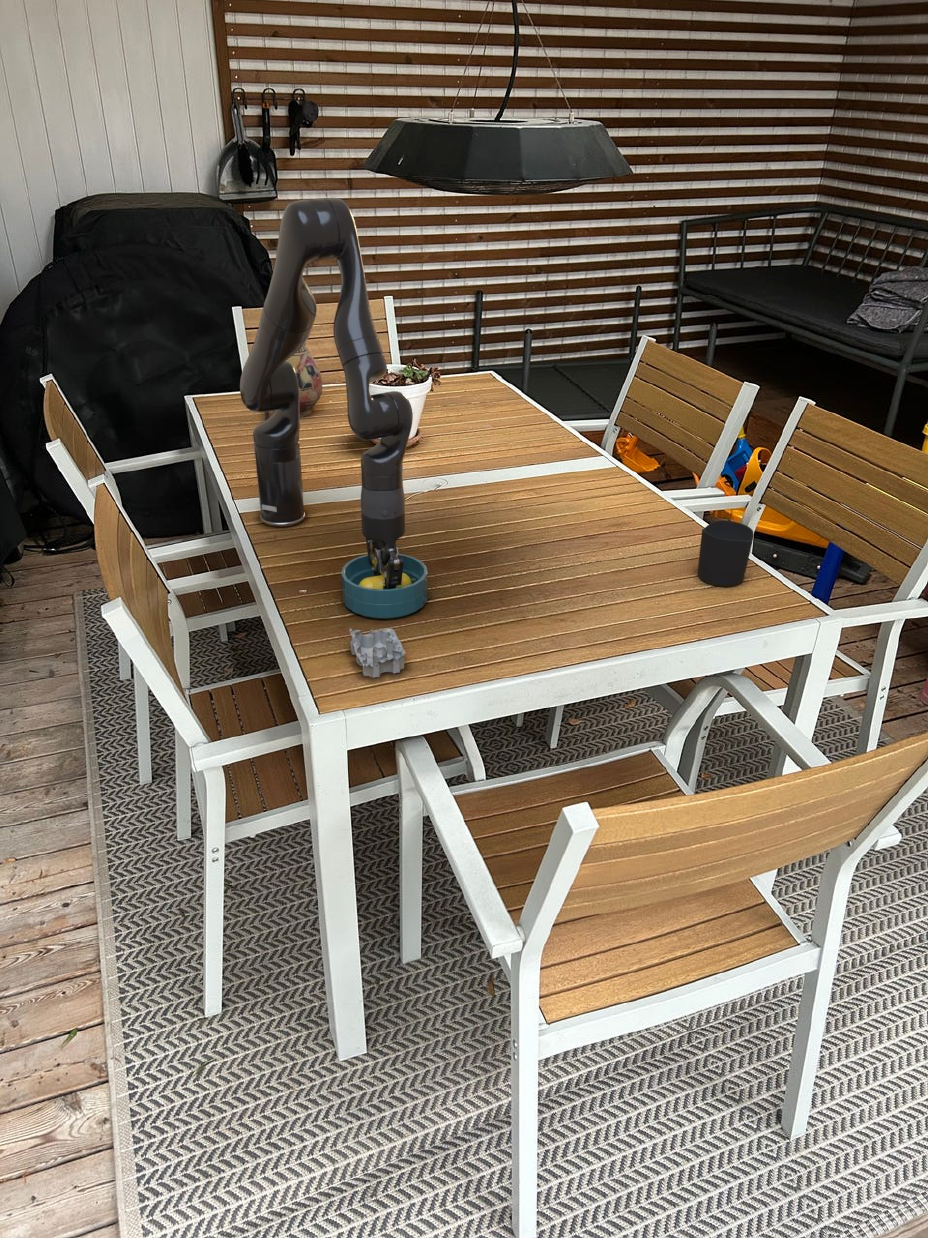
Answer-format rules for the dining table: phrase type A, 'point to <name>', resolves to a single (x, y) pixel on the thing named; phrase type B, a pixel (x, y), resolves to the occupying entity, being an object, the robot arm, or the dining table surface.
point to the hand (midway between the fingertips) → (385, 596)
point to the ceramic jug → (306, 380)
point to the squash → (377, 582)
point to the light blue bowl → (383, 590)
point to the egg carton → (377, 651)
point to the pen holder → (724, 553)
